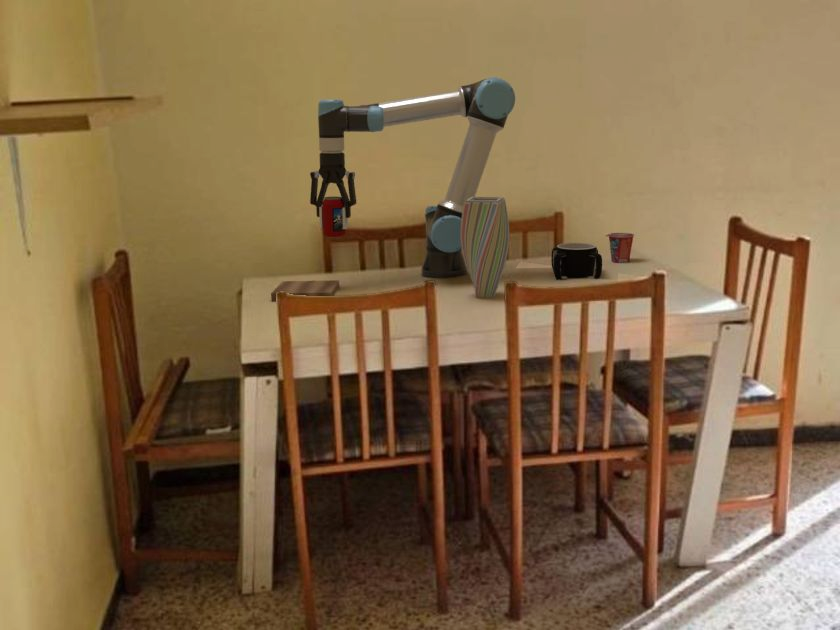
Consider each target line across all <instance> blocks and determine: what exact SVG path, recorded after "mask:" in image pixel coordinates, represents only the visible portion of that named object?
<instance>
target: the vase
mask: <svg viewBox="0 0 840 630" xmlns="http://www.w3.org/2000/svg"><path fill="white" fill-rule="evenodd" d="M506 203H507V201H506V199H505V198H504V197H503V196H475V197H471V198H469V199H468V200H466V201H465V202H464V205H463V211H462V218H461V234H460V235H461V245H462V254H463V257H464V260H465V263H466V266H467V272H468V274H469V276H470V279H471V283H472V285H473V289H474V293H475V295H474V296H475V298H476V299H477V298H480V299H481V298H482V299H483V298H495V297H496V295H497V291H498V288H499V285H500V283H501V280H502V276H503V273H504V269H505V266H506V264H507V263H506V262H507V258H508V252H509V243H510V223H509V216H508V215H509V213H508V207H507V204H506Z"/></svg>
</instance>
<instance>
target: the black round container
mask: <svg viewBox="0 0 840 630" xmlns="http://www.w3.org/2000/svg"><path fill="white" fill-rule="evenodd" d="M550 260H551V261H550V262H551V269H552V271H553V275H554V278H555V280H559V281H561V280H565V279H583V278H584V279H585V278H589V279H595V280H597V279H600V278H601V276H602V272H603V257H602V255H601V253H599V249H598V248H597V245H595V244H593V243H589V242H565V243H559V244H557V245H556V247H553V248H552V249H551V259H550ZM593 275H594V276H593Z"/></svg>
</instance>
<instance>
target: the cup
mask: <svg viewBox="0 0 840 630" xmlns="http://www.w3.org/2000/svg"><path fill="white" fill-rule="evenodd" d="M605 237H608V239H609V249H610V259H611V262H612V263H613V264H625V263H629V262H630V258H631V253H632V245H633V241H634V237H635V234H634V233H631V232H612V233H608V234H606V235H605Z"/></svg>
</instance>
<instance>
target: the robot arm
mask: <svg viewBox="0 0 840 630" xmlns="http://www.w3.org/2000/svg"><path fill="white" fill-rule="evenodd" d="M515 103H516V94H515V91H514V88H513V87H512V85H511V84H510V83H509V82H507V81H506V80H504V79H503V78H498V77H488V78H484V79H481V80H479V81H476V82H474V83H471V84H466V85H459V87H457V89H456V90H449V91H444V92H439V93H432V94H431V93H430V94H426V95H419V96H413V97H407V98H400V99H394V100H390V101H384V102H383V101H382V102H377V103H371V104H363V105H362V104H361V105H357V106H354V105H351V106H349V105H345V104H344V101H343V99H321V100H319V101H318V114H317V115H318V118H317V120H318V143H319V144H318V149H319V151H320V153H319V169H318V170H316V171H315V170H314V171H311V172H310V174H309V175H310V179H311V182H310V183H311V186H310V200H309V203H310V205H313V206H315V208H316V209H315V210H316V218H319V228H320V229H323V206H322V203H323V201H324V199H325V197H326V193H327V190H328V187H329V185H330V184H336V187H338V191H339V194H340V197H342V200H343V202H344V205H345V206H344V207H343V208H342V212H343V229H345V230H347V229H348V228H349V221H348V220H349V219H350V218H351V216H352V214H351V207H352V206H356V205H357V195H356V187H355V176H356V173H355V171H352V172H351V171H348V170H347V169H346V161H345V159H346V158H345V156H346V155H345V153H344V151H345V132H346V133H349V132H353V133H354V132H357V133H359V132H361V133H364V132H365V133H368V132H369V133H377V132H382V131H383V130H384V127H385V128H386V127H391V126H392V127H393V126H398V125H405V124H410V123H416V122H423V121H430V120H435V119H442V118H447V117H453V116H454V117H455V116H461V117H463V118H467V120H468V122H469V126H468V129H467V132H466V134H465V137H464V140H463V143H462V146H461V149H460V152H459V155H458V157H457V158H458V159H457V161H456V164H455V167H454V171H453V173H452V177H451V180H450V182H449V185H448V188H447V190H446V191H447V192H446V194H445V198H444V199H442V200H441V201H439V202H438V203H437V205H430V206H427V207H426V208H425V213H424V217H425V248H426V249H425V250H426V251H425V256H424V260H423V262H422V267H421V276H422V277H424V278H427V279H453V278H458V277H463V276H466V275H467V274H468V268H467V265H466V262H465V259H464V255H463V251H462V245H461V235H460V234H461V218H462V211H463V205H464V202H465V201H466V200H468V199H469V198H471V197H476V195H477V192H478V188H479V185H480V183H481V181H482V177H483V174H484V171H485V168H486V166H487V163H488V159H489V156H490V153H491V151H492V147H493V144H494V143H495V139H496V136H497V133H499V132H500V131H502V130H503V129H504V128H505V125H506V123H507V119H508V116H509V115H510V113H511V112H512V110H513V109H514V107H515ZM345 176H346V179H347V188H348V192H347V189H346V186H345V183H344V180H343V179H344V177H345ZM319 177H321V178H322V180H321V181H322V182H321V185H320V190H319V193H318V187H319V185H318V184H319Z"/></svg>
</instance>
